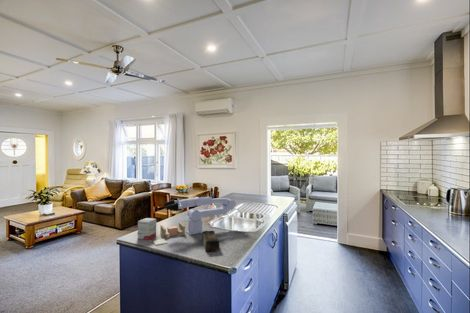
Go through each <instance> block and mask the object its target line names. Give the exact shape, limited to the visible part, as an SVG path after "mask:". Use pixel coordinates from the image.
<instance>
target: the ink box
mask: <svg viewBox="0 0 470 313" xmlns="http://www.w3.org/2000/svg"><path fill="white" fill-rule="evenodd" d="M155 237H157V218H151V217H146V218H143V219H142V218H141V219H140V220H137V239H138V240H144V241H150V240H152V239H153V238H155Z"/></svg>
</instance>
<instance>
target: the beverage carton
mask: <svg viewBox="0 0 470 313" xmlns="http://www.w3.org/2000/svg"><path fill="white" fill-rule="evenodd" d="M202 232H203V233H201V234H202V237H201V238H202V239H201V240H202V243H203V248H204V251H205V253H212V252H219V251H220V241H219V238H218V236H217V234H216V233H215V230H202Z"/></svg>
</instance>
